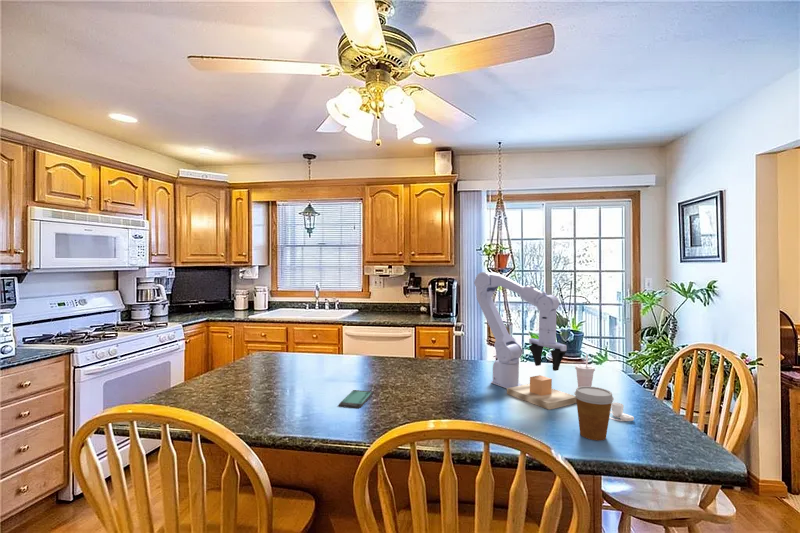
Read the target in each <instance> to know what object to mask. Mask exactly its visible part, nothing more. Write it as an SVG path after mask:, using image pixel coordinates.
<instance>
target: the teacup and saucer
mask: <svg viewBox="0 0 800 533" xmlns="http://www.w3.org/2000/svg"><path fill="white" fill-rule="evenodd" d="M610 414H612V416H613V417H615V418H613V417H611V416H609V420H610V419H611V420H614V421H618V422H632V421H634V420H635V417H634V416H633V415H631V414H627V413H624V404H623V403H620V402H612V404H611V410H610ZM617 418H618V419H617ZM619 418H620V419H619Z"/></svg>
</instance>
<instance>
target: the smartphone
mask: <svg viewBox="0 0 800 533" xmlns="http://www.w3.org/2000/svg"><path fill="white" fill-rule="evenodd" d="M373 395H374V392H373V391H370V390H359V389H358V390H357V389H354V390H353V389H352V391H351V392H350V393H349V394H347V395H346V396H345V398H344V399H342V400H341V401H340V402H339V403H338V406H339V407H342V408H351V409H361V408H362V407H363V406H364V405H365V404H366V403H367V402H368V401H369V400H370V399H371V397H372V396H373Z"/></svg>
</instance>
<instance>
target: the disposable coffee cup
mask: <svg viewBox="0 0 800 533" xmlns="http://www.w3.org/2000/svg"><path fill="white" fill-rule="evenodd" d="M573 393H574V394H573V395H574V396H575V397H576V401H577V403H576V409H577V416H578V417H577V419H578V428H579V434H580V435H581V437H583V438H585V439H588V440H592V441H604V440H606V439H607V432H608V428H609V421H610V418H609V417H611V413H610V411H612V408H611V404H612V403H614V400H615V399H614V397H613V393H612V392H611V391H610V390H608V389H605V388H602V387H596V386H591V387H590V386H582V387H578V386H577V387H576V389H575V392H573Z"/></svg>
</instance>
